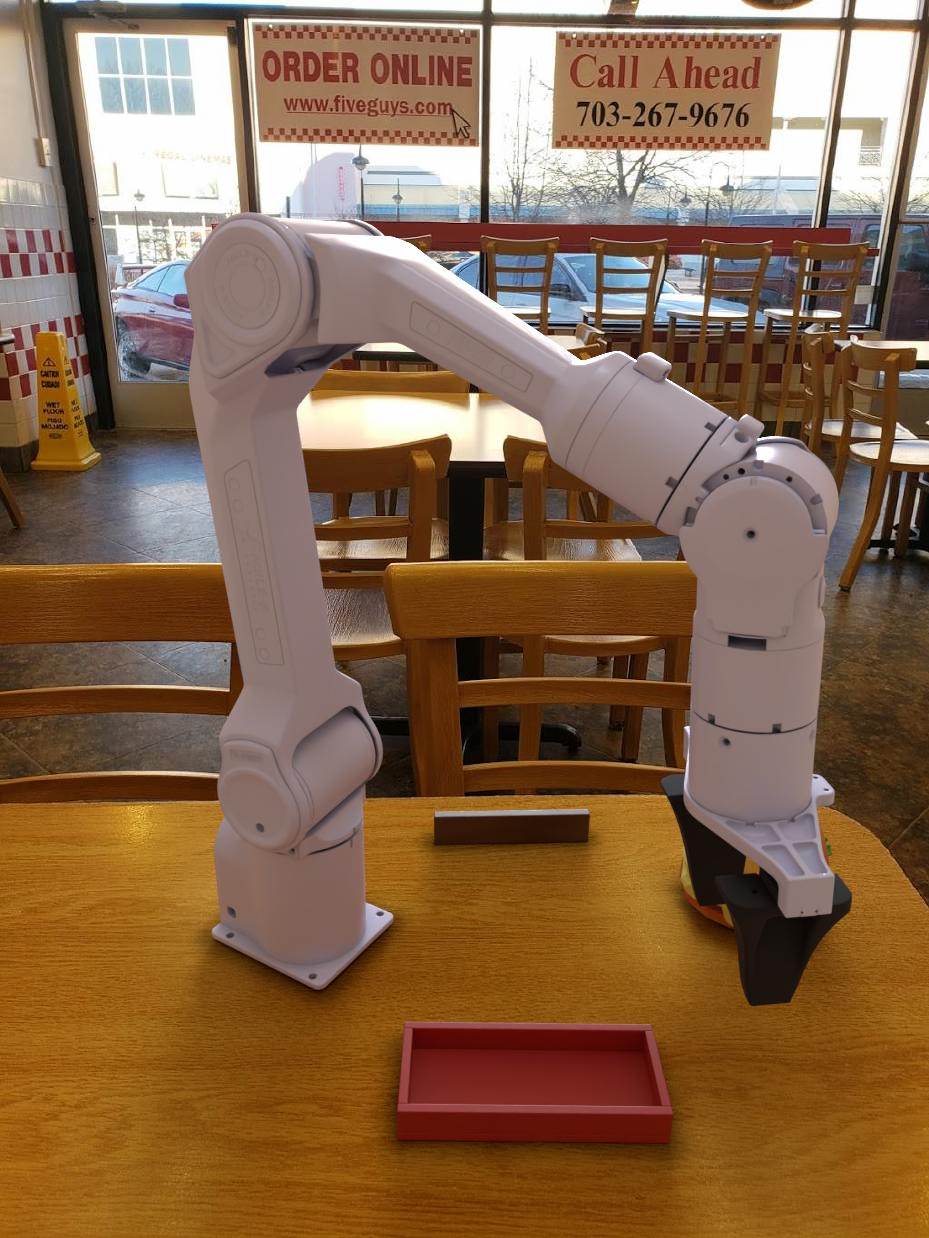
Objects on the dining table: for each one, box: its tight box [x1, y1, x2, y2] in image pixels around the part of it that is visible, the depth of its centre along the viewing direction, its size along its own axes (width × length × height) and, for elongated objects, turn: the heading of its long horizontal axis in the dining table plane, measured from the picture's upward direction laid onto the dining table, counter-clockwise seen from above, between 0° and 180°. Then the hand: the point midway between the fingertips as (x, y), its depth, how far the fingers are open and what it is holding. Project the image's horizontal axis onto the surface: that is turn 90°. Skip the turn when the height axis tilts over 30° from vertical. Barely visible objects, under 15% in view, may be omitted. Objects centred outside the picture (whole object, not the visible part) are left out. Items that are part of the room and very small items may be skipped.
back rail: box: [433, 808, 591, 845], centre depth 73 cm, size 1×12×2 cm, turn 93°
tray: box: [396, 1021, 674, 1144], centre depth 51 cm, size 6×14×2 cm, turn 90°
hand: (739, 946), depth 49 cm, fingers open, 7 cm apart
